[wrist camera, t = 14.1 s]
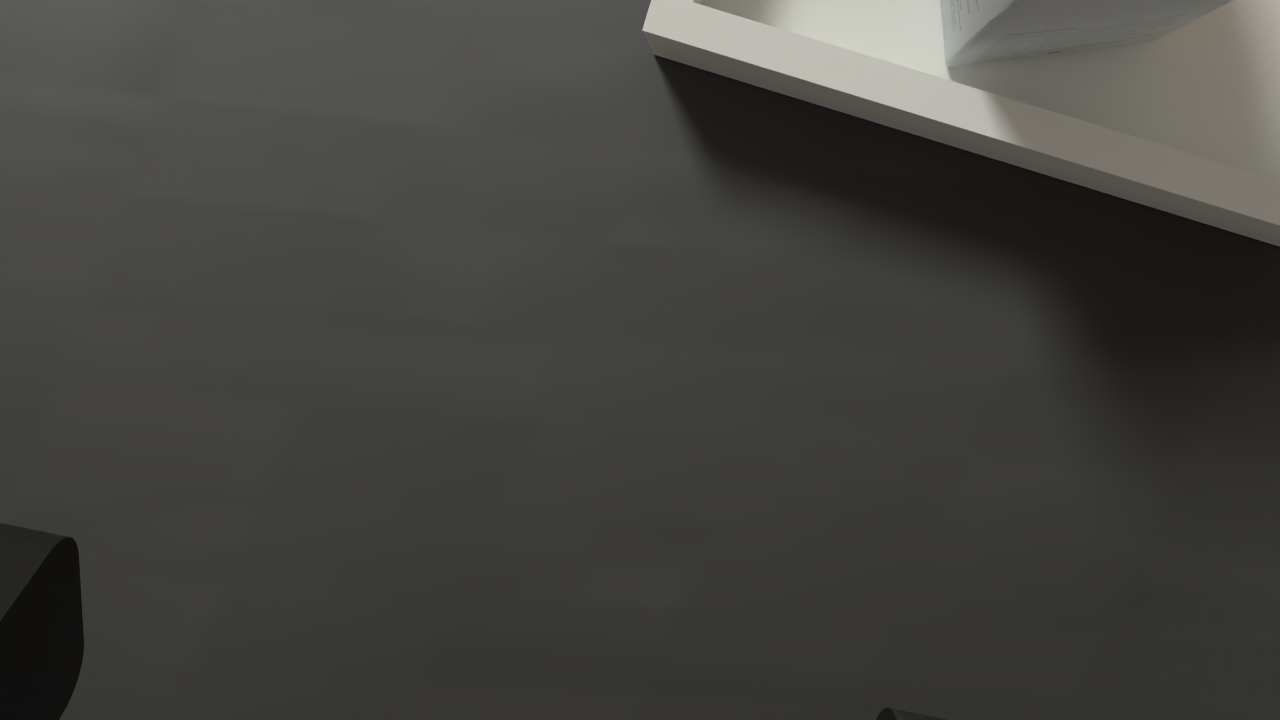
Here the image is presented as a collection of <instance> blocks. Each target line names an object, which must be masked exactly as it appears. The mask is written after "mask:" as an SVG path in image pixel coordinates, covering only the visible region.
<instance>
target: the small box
mask: <svg viewBox="0 0 1280 720" xmlns="http://www.w3.org/2000/svg"><path fill="white" fill-rule="evenodd" d="M1231 1H1233V0H940V5H941V16H942V27H943V37H944V51H945V62H946V65H947V66H948V67H955V66H962V65H968V64H975V63H984V62H992V61H1000V60H1008V59H1016V58H1024V57H1032V56H1040V55H1048V54H1056V53H1064V52H1071V51H1079V50H1087V49H1095V48H1103V47H1111V46H1119V45H1126V44H1134V43H1142V42H1149V41H1155V40H1157V39H1159V38H1161V37H1163V36H1164V35H1166V34H1168V33H1170V32H1172V31H1174V30H1176V29H1178V28H1181V27H1183V26H1185V25H1187V24H1188V23H1190V22H1192V21H1194V20H1196V19H1198V18H1200V17H1202V16H1204V15H1206V14H1208V13H1210V12H1212V11H1213V10H1215V9H1217V8H1219V7H1221V6H1223V5H1225V4H1227V3H1229V2H1231Z"/></svg>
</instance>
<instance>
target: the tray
mask: <svg viewBox="0 0 1280 720" xmlns="http://www.w3.org/2000/svg"><path fill="white" fill-rule="evenodd" d="M642 31H643V33H644V35H645V37H646V40H647V42H648V44H649V46H650V48H651V50H652V53H653V54H654V55H657V56H660V57H664V58H667V59H670V60H673V61H677V62H680V63H683V64H686V65H690V66H693V67H696V68H699V69H703V70H706V71H709V72H712V73H716V74H719V75H722V76H725V77H729V78H732V79H735V80H739V81H742V82H745V83H748V84H752V85H755V86H758V87H761V88H765V89H768V90H771V91H774V92H778V93H781V94H784V95H787V96H791V97H794V98H797V99H800V100H804V101H807V102H810V103H813V104H817V105H820V106H823V107H826V108H830V109H833V110H836V111H839V112H843V113H846V114H849V115H853V116H856V117H859V118H862V119H866V120H869V121H872V122H875V123H879V124H882V125H885V126H888V127H892V128H895V129H898V130H901V131H905V132H908V133H911V134H914V135H918V136H921V137H924V138H927V139H931V140H934V141H937V142H940V143H944V144H947V145H950V146H954V147H957V148H960V149H963V150H967V151H970V152H973V153H976V154H980V155H983V156H986V157H989V158H993V159H996V160H999V161H1002V162H1006V163H1009V164H1012V165H1015V166H1019V167H1022V168H1025V169H1028V170H1032V171H1035V172H1038V173H1041V174H1045V175H1048V176H1051V177H1054V178H1058V179H1061V180H1064V181H1068V182H1071V183H1074V184H1077V185H1081V186H1084V187H1087V188H1090V189H1094V190H1097V191H1100V192H1103V193H1107V194H1110V195H1113V196H1116V197H1120V198H1123V199H1126V200H1129V201H1133V202H1136V203H1139V204H1142V205H1146V206H1149V207H1152V208H1155V209H1159V210H1162V211H1165V212H1169V213H1172V214H1175V215H1178V216H1182V217H1185V218H1188V219H1191V220H1195V221H1198V222H1201V223H1204V224H1208V225H1211V226H1214V227H1217V228H1221V229H1224V230H1227V231H1230V232H1234V233H1237V234H1240V235H1243V236H1247V237H1250V238H1253V239H1256V240H1260V241H1263V242H1266V243H1269V244H1273V245H1276V246H1279V247H1280V0H1233V1H1231V2H1229V3H1227V4H1225V5H1223V6H1221V7H1219V8H1217V9H1215V10H1213V11H1212V12H1210V13H1208V14H1206V15H1204V16H1202V17H1200V18H1198V19H1196V20H1194V21H1192V22H1190V23H1188V24H1187V25H1185V26H1183V27H1181V28H1178V29H1176V30H1174V31H1172V32H1170V33H1168V34H1166V35H1164V36H1163V37H1161V38H1159V39H1157V40H1155V41H1149V42H1142V43H1134V44H1126V45H1119V46H1111V47H1103V48H1095V49H1087V50H1079V51H1071V52H1064V53H1056V54H1048V55H1040V56H1032V57H1024V58H1016V59H1008V60H1000V61H992V62H984V63H975V64H968V65H962V66H955V67H948V66H947V65H946V62H945V51H944V37H943V27H942V16H941V5H940V0H651V3H650V6H649V10H648V13H647V16H646V20H645V23H644V26H643V29H642Z"/></svg>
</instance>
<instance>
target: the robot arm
mask: <svg viewBox="0 0 1280 720" xmlns="http://www.w3.org/2000/svg"><path fill="white" fill-rule="evenodd" d="M83 652H84V635H83V619H82V602H81V585H80V568H79V553H78V547H77V544H76V542H75V540H74V539H73V538H71V537H66V536H61V535H56V534H51V533H47V532H42V531H37V530H32V529H27V528H22V527H17V526H12V525H8V524H3V523H0V720H59V719H60V717H61V715H62V714H63V712H64V710H65V708H66V707H67V705H68V703H69V700H70V698H71V696H72V694H73V691H74V689H75V686H76V683H77V680H78V677H79V673H80V669H81V665H82V659H83ZM876 720H946V719H941V718H936V717H931V716H926V715H921V714H916V713H911V712H906V711H902V710H897V709H892V708H885V709H883V710H882V711H881V712H880V714H879V715H878V717H877V719H876Z"/></svg>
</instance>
